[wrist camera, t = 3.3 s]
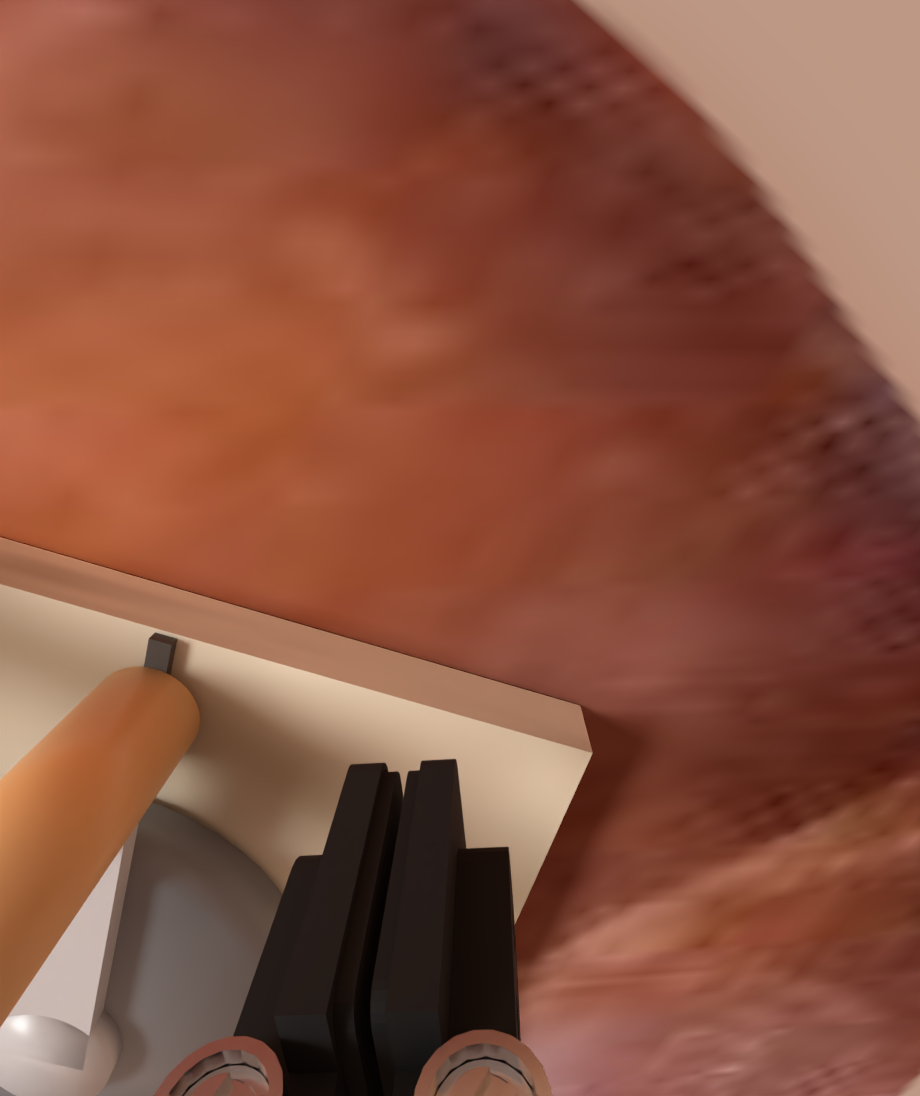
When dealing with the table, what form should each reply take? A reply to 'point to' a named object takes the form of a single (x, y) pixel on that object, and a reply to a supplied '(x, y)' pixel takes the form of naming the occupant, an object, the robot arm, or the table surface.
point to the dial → (118, 902)
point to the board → (282, 712)
